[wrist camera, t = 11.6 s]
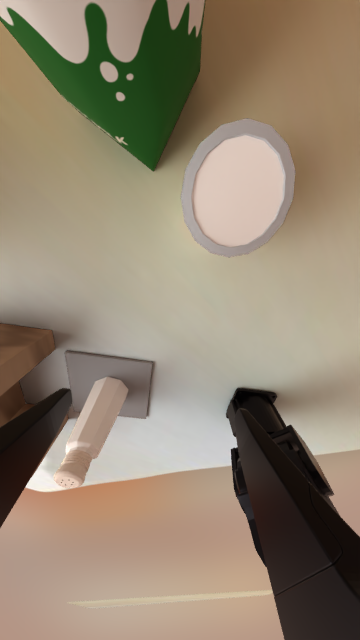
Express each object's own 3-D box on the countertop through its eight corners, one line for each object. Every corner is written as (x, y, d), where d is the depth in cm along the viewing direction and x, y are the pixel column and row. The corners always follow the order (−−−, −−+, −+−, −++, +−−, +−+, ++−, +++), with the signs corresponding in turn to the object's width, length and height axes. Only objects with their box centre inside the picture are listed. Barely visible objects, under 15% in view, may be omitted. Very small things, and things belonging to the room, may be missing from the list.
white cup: (199, 153, 15) (214, 85, 8) (265, 191, 16) (323, 157, 9) (170, 235, 17) (164, 230, 11) (228, 262, 18) (253, 273, 12)
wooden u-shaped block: (51, 330, 22) (-12, 373, 15) (68, 419, 29) (31, 477, 22) (-26, 319, 21) (-132, 359, 14) (11, 413, 29) (-46, 471, 22)
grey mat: (152, 361, 24) (152, 363, 24) (146, 416, 29) (145, 418, 29) (66, 350, 23) (64, 352, 23) (75, 409, 28) (73, 411, 28)
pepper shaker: (125, 375, 25) (88, 466, 15) (131, 401, 27) (102, 495, 17) (89, 376, 25) (27, 467, 15) (98, 402, 27) (49, 496, 17)
